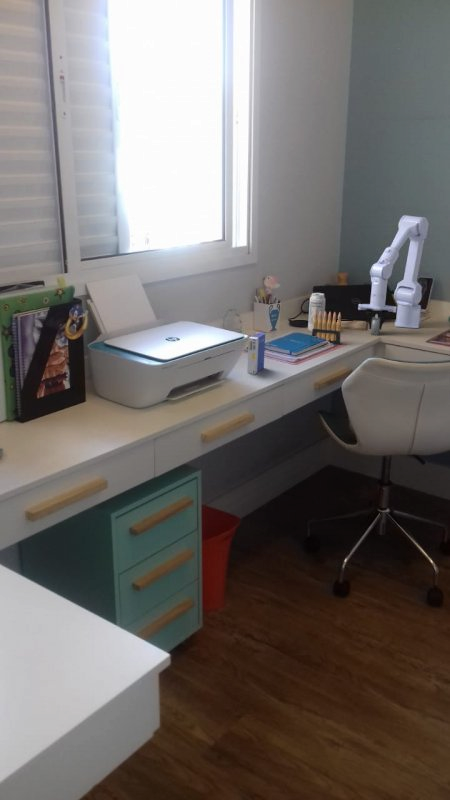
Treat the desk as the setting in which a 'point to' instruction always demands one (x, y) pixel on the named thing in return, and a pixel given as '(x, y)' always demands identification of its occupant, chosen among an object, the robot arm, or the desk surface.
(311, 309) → the energy drink can
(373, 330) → the connector
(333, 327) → the ammunition clip
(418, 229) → the robot arm
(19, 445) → the desk surface
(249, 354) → the purple white carton box
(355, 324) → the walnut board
